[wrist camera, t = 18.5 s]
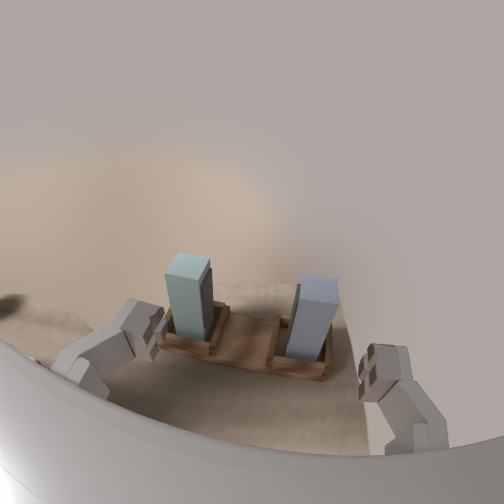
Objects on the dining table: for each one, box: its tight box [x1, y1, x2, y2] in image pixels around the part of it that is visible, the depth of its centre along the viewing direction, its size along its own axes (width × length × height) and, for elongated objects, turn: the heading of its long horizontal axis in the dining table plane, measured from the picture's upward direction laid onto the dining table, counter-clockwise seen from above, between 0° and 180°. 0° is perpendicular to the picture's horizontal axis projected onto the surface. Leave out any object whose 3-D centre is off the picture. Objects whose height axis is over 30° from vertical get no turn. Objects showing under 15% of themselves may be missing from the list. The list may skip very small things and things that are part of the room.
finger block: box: [285, 274, 338, 362], centre depth 41 cm, size 5×5×14 cm
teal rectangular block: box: [165, 252, 214, 342], centre depth 44 cm, size 5×5×14 cm
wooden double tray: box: [159, 301, 332, 381], centre depth 46 cm, size 28×10×4 cm, turn 79°
